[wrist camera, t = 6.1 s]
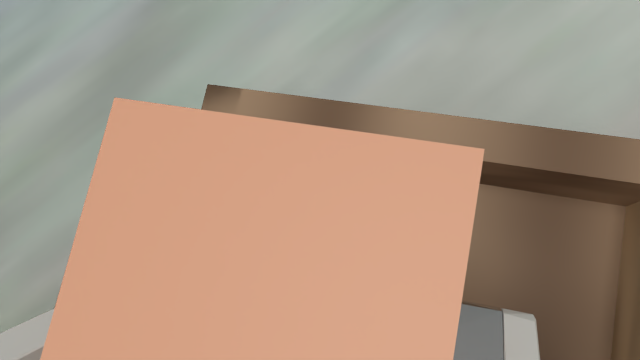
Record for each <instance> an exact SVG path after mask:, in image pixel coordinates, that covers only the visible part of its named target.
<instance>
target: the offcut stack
mask: <svg viewBox="0 0 640 360" xmlns="http://www.w3.org/2000/svg"><path fill="white" fill-rule="evenodd" d="M611 360H640V201H639V202H637V203H634V204H631V205H629V206H626V212H625V222H624V232H623V242H622V252H621V262H620V272H619V282H618V292H617V302H616V312H615V322H614V333H613V343H612V353H611Z"/></svg>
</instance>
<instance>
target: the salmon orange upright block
mask: <svg viewBox="0 0 640 360" xmlns="http://www.w3.org/2000/svg"><path fill="white" fill-rule="evenodd" d="M484 150H485V149H481V148H474V147H467V146H460V145H452V144H445V143H438V142H431V141H424V140H416V139H409V138H402V137H395V136H388V135H380V134H373V133H366V132H359V131H352V130H344V129H337V128H330V127H323V126H316V125H308V124H301V123H294V122H287V121H280V120H272V119H265V118H258V117H251V116H243V115H236V114H229V113H222V112H215V111H207V110H200V109H193V108H186V107H179V106H171V105H164V104H157V103H150V102H143V101H135V100H128V99H121V98H114V101H113V105H112V108H111V112H110V115H109V119H108V122H107V126H106V130H105V133H104V137H103V140H102V144H101V147H100V151H99V154H98V158H97V161H96V165H95V168H94V172H93V175H92V179H91V182H90V186H89V189H88V193H87V196H86V200H85V203H84V207H83V210H82V214H81V217H80V221H79V224H78V228H77V232H76V235H75V239H74V242H73V246H72V249H71V253H70V256H69V260H68V263H67V267H66V270H65V274H64V277H63V281H62V284H61V288H60V291H59V295H58V298H57V302H56V305H55V309H54V312H53V316H52V319H51V323H50V326H49V330H48V333H47V337H46V341H45V344H44V348H43V351H42V355H41V358H40V360H453V357H454V350H455V343H456V337H457V330H458V323H459V317H460V310H461V303H462V297H463V290H464V283H465V277H466V270H467V263H468V257H469V250H470V243H471V237H472V230H473V223H474V217H475V210H476V203H477V197H478V190H479V183H480V177H481V170H482V163H483V156H484Z"/></svg>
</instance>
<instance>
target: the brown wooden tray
mask: <svg viewBox="0 0 640 360" xmlns="http://www.w3.org/2000/svg"><path fill="white" fill-rule="evenodd" d="M201 110H207V111H215V112H222V113H229V114H236V115H243V116H251V117H258V118H265V119H272V120H280V121H287V122H294V123H301V124H308V125H316V126H323V127H330V128H337V129H344V130H352V131H359V132H366V133H373V134H380V135H388V136H395V137H402V138H409V139H416V140H424V141H431V142H438V143H445V144H452V145H460V146H467V147H474V148H481V149H485V150H484V156H483V163H482V170H481V177H480V183H479V190H478V197H477V203H476V210H475V217H474V223H473V230H472V237H471V243H470V250H469V257H468V263H467V270H466V277H465V283H464V290H463V297H462V300H463V301H468V302H473V303H478V304H483V305H488V306H493V307H498V308H500V309H502V308H503V309H508V310H513V311H518V312H523V313H528V314H533V315H534V317H535V319H536V324H537V334H538V344H539V354H540V360H611V353H612V343H613V333H614V322H615V312H616V302H617V292H618V282H619V272H620V262H621V252H622V242H623V232H624V222H625V212H626V206H629V205H631V204H634V203H637V202H639V201H640V140H639V139H631V138H624V137H616V136H608V135H600V134H592V133H584V132H577V131H569V130H561V129H553V128H545V127H538V126H530V125H522V124H514V123H506V122H498V121H491V120H483V119H475V118H467V117H459V116H451V115H444V114H436V113H428V112H420V111H412V110H405V109H397V108H389V107H381V106H373V105H365V104H358V103H350V102H342V101H334V100H326V99H318V98H311V97H303V96H295V95H287V94H279V93H272V92H264V91H256V90H248V89H240V88H232V87H225V86H217V85H209V84H208V85H207V89H206V93H205V97H204V101H203V105H202V109H201Z"/></svg>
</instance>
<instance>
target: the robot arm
mask: <svg viewBox="0 0 640 360" xmlns="http://www.w3.org/2000/svg"><path fill="white" fill-rule="evenodd" d="M54 309H55V308H54ZM54 309H52V310H50V311H47V312H45V313H43V314H41V315H39V316H36V317H34V318H32V319H30V320H28V321H26V322H23V323H21V324H19V325H17V326H15V327H13V328H10V329H8V330H6V331H4V332H2V333H0V360H40V358H41V355H42V351H43V348H44V344H45V341H46V337H47V333H48V330H49V326H50V323H51V319H52V316H53V312H54ZM453 360H540V354H539V344H538V334H537V324H536V319H535V317H534V315H533V314H528V313H523V312H518V311H513V310H508V309H503V308H502V309H500V308H498V307H493V306H488V305H483V304H478V303H473V302H468V301H463V300H462V303H461V310H460V317H459V323H458V330H457V337H456V343H455V350H454V357H453Z"/></svg>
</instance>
